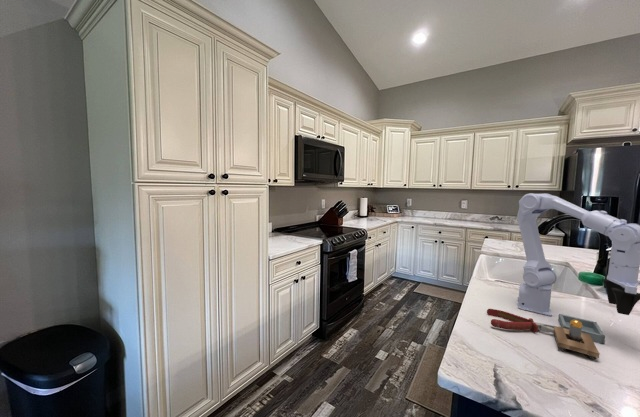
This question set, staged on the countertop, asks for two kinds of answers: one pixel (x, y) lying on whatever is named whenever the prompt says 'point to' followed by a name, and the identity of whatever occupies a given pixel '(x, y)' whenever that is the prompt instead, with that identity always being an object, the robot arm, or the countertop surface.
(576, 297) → the countertop surface
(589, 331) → the tray
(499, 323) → the pliers
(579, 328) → the stop pin
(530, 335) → the countertop surface
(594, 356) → the brown frame
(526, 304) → the robot arm
